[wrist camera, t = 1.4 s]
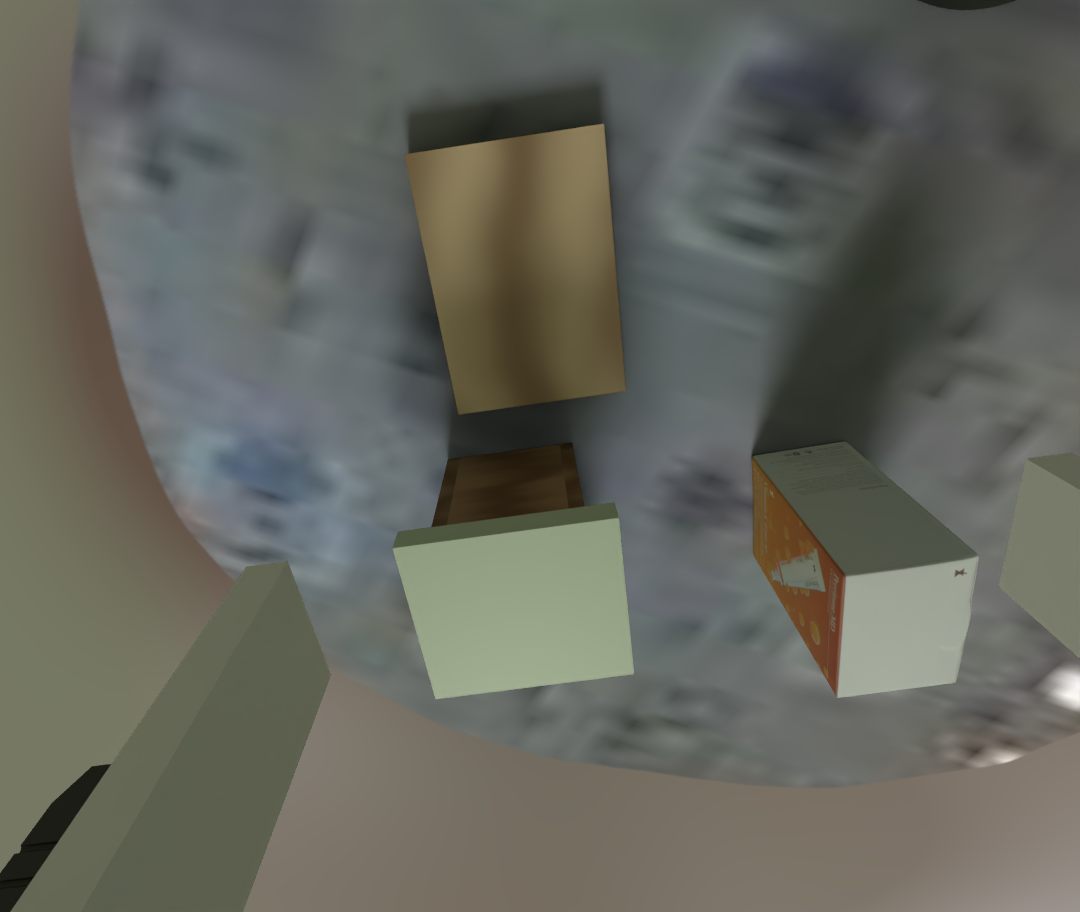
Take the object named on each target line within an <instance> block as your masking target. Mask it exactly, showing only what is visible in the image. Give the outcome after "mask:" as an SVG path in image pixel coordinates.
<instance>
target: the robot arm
mask: <svg viewBox="0 0 1080 912" xmlns="http://www.w3.org/2000/svg"><path fill="white" fill-rule="evenodd" d="M919 1H922V2H924V3H927V4H929V5H933V6H937V7H941V8H947V9H955V10H975V9H984V8H990V7H995V6H999V5H1002V4H1006V3H1009V2H1012V1H1015V0H919ZM999 588H1001V589H1002V590H1003V591H1004V592H1005V593H1006V594H1007V595H1009V596H1010V597H1011V598H1012V599H1013V600H1014V601H1015V602H1016V603H1018V604H1019V605H1020V606H1021V607H1022V608H1023V609H1024V610H1026V611H1027V612H1028V613H1029V614H1030V615H1031V616H1032V617H1034V618H1035V619H1036V620H1037V621H1038V622H1039V623H1040V624H1041V625H1043V626H1044V627H1045V628H1046V629H1047V630H1048V631H1049V632H1051V633H1052V634H1053V635H1054V636H1055V637H1056V638H1057V639H1059V640H1060V641H1061V642H1062V643H1063V644H1064V645H1065V646H1066V647H1068V648H1069V649H1070V650H1071V651H1072V652H1073V653H1074V654H1076V655H1077V656H1078V657H1079V658H1080V457H1079V456H1077V455H1075V454H1073V453H1065V454H1058V455H1051V456H1044V457H1036V458H1029V459H1026V462H1025V467H1024V472H1023V476H1022V481H1021V486H1020V490H1019V495H1018V500H1017V504H1016V509H1015V514H1014V518H1013V523H1012V528H1011V532H1010V537H1009V542H1008V546H1007V551H1006V556H1005V560H1004V565H1003V570H1002V574H1001V579H1000V584H999ZM330 676H331V673H330V671H329V668H328V665H327V663H326V660H325V658H324V655H323V652H322V650H321V647H320V645H319V642H318V639H317V637H316V634H315V632H314V629H313V626H312V624H311V621H310V619H309V616H308V613H307V611H306V608H305V606H304V603H303V600H302V598H301V595H300V593H299V590H298V587H297V585H296V582H295V580H294V577H293V574H292V572H291V569H290V566H289V564H288V561H285V562H278V563H271V564H263V565H256V566H249V567H246V568H245V569H244V571H243V572H242V574H241V575H240V577H239V578H238V580H237V581H236V583H235V584H234V586H233V587H232V589H231V590H230V591H229V593H228V594H227V596H226V598H225V599H224V600H223V602H222V603H221V605H220V606H219V608H218V609H217V610H216V612H215V613H214V615H213V616H212V618H211V619H210V621H209V622H208V624H207V625H206V626H205V628H204V630H203V631H202V633H201V634H200V635H199V637H198V638H197V640H196V641H195V643H194V644H193V645H192V647H191V648H190V650H189V651H188V653H187V654H186V656H185V657H184V659H183V660H182V662H181V663H180V665H179V666H178V668H177V669H176V670H175V672H174V673H173V675H172V676H171V678H170V679H169V681H168V682H167V684H166V685H165V687H164V688H163V690H162V691H161V692H160V694H159V695H158V697H157V698H156V700H155V701H154V703H153V704H152V705H151V707H150V709H149V710H148V711H147V713H146V714H145V716H144V717H143V719H142V720H141V722H140V723H139V724H138V726H137V727H136V729H135V730H134V732H133V733H132V735H131V736H130V738H129V739H128V741H127V742H126V743H125V745H124V746H123V748H122V749H121V751H120V752H119V754H118V755H117V757H116V758H115V760H114V761H113V762H112V764H109V765H100V766H92V767H91V768H90V769H89V770H88V771H86V772H85V773H84V774H83V775H82V776H81V777H80V778H79V779H78V780H77V781H76V782H75V783H73V784H72V785H71V786H70V787H69V788H68V789H67V790H66V791H65V792H64V793H62V794H61V795H60V796H59V797H58V798H57V799H56V800H55V801H54V802H53V803H52V804H51V805H50V806H49V808H48V809H47V810H46V812H45V813H44V815H43V816H42V817H41V819H40V820H39V821H38V823H37V824H36V825H35V827H34V828H33V829H32V831H31V832H30V834H29V835H28V836H27V838H26V839H25V841H24V842H23V843H22V844H21V851H20V853H18V854H14V855H13V857H12V858H11V860H10V861H9V862H8V863H7V865H6V866H5V868H4V869H3V870H2V872H1V873H0V912H243V910H244V907H245V904H246V902H247V899H248V896H249V894H250V891H251V888H252V886H253V883H254V880H255V878H256V875H257V872H258V869H259V867H260V864H261V862H262V859H263V856H264V854H265V851H266V848H267V845H268V843H269V840H270V837H271V835H272V832H273V829H274V827H275V824H276V821H277V819H278V816H279V813H280V811H281V808H282V805H283V802H284V800H285V797H286V794H287V792H288V789H289V786H290V784H291V781H292V778H293V776H294V773H295V770H296V768H297V765H298V762H299V759H300V757H301V754H302V751H303V749H304V746H305V743H306V740H307V738H308V735H309V733H310V730H311V727H312V725H313V722H314V719H315V716H316V714H317V711H318V708H319V706H320V703H321V700H322V698H323V695H324V692H325V690H326V687H327V684H328V681H329V679H330Z"/></svg>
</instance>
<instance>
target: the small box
mask: <svg viewBox="0 0 1080 912" xmlns="http://www.w3.org/2000/svg"><path fill="white" fill-rule="evenodd" d="M751 460H752V473H753V555H754V557H755V559H756V560H757V562H758V564H759V565H760V567H761V569H762V571H763V572H764V574H765V576H766V577H767V579H768V581H769V582H770V584H771V586H772V587H773V589H774V591H775V593H776V594H777V596H778V598H779V599H780V601H781V603H782V604H783V606H784V608H785V610H786V611H787V613H788V615H789V616H790V618H791V620H792V621H793V623H794V625H795V627H796V628H797V630H798V632H799V633H800V635H801V637H802V638H803V640H804V642H805V644H806V645H807V647H808V649H809V650H810V652H811V654H812V656H813V657H814V659H815V661H816V662H817V664H818V666H819V668H820V669H821V671H822V673H823V674H824V676H825V678H826V679H827V681H828V683H829V685H830V686H831V688H832V690H833V691H834V693H835V695H836V697H847V696H855V695H863V694H870V693H878V692H886V691H894V690H902V689H909V688H917V687H925V686H933V685H940V684H949V683H955V682H956V680H957V676H958V672H959V667H960V662H961V657H962V652H963V646H964V642H965V638H966V634H967V631H968V627H969V623H970V617H971V607H972V596H973V590H974V584H975V578H976V571H977V565H978V560H979V556H978V554H977V553H976V552H975V551H974V550H972V549H971V548H970V547H969V546H968V545H966V544H965V543H964V542H963V541H962V540H961V539H960V538H958V537H957V536H956V535H955V534H954V533H953V532H951V531H950V530H949V529H948V528H947V527H946V526H944V525H943V524H942V523H941V522H940V521H938V520H937V519H936V518H935V517H934V516H933V515H931V514H930V513H929V512H928V511H927V510H926V509H924V508H923V507H922V506H921V505H920V504H919V503H917V502H916V501H915V500H914V499H913V498H912V497H910V496H909V495H908V494H907V493H906V492H905V491H903V490H902V489H901V488H900V487H899V486H898V485H896V484H895V483H894V482H893V481H892V480H891V479H889V478H888V477H887V476H886V475H885V474H884V473H882V472H881V471H880V470H879V469H878V468H877V467H875V466H874V465H873V464H872V463H871V462H870V461H868V460H867V459H866V458H865V457H864V456H863V455H861V454H860V453H859V452H858V451H857V450H856V449H855V448H853V447H852V446H851V445H850V444H849V443H848V442H838V443H831V444H825V445H818V446H812V447H805V448H799V449H792V450H786V451H780V452H774V453H768V454H762V455H755V456H752V458H751Z"/></svg>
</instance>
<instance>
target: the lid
mask: <svg viewBox="0 0 1080 912" xmlns="http://www.w3.org/2000/svg"><path fill="white" fill-rule="evenodd" d="M393 552H394V555H395V559H396V562H397V566H398V569H399V573H400V576H401V580H402V583H403V587H404V590H405V594H406V597H407V601H408V604H409V608H410V611H411V615H412V618H413V621H414V625H415V628H416V632H417V635H418V639H419V642H420V646H421V649H422V653H423V656H424V660H425V663H426V667H427V670H428V674H429V677H430V681H431V684H432V688H433V691H434V695H435V698H436V699H441V698H448V697H456V696H464V695H472V694H480V693H488V692H496V691H504V690H512V689H520V688H527V687H535V686H543V685H551V684H559V683H567V682H575V681H583V680H591V679H599V678H606V677H614V676H622V675H630V674H634V669H633V658H632V648H631V638H630V628H629V617H628V607H627V597H626V586H625V576H624V566H623V556H622V545H621V535H620V525H619V517H618V513H617V510H616V506H615V503H607V504H599V505H592V506H585V507H577V508H570V509H562V510H555V511H548V512H540V513H533V514H525V515H518V516H511V517H503V518H496V519H489V520H481V521H474V522H466V523H459V524H452V525H444V526H437V527H429V528H422V529H415V530H407V531H400V532H398V533H397V536H396V540H395V543H394V546H393Z"/></svg>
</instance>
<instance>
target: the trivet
mask: <svg viewBox="0 0 1080 912" xmlns="http://www.w3.org/2000/svg"><path fill="white" fill-rule="evenodd" d="M404 157H405V161H406V166H407V171H408V176H409V181H410V185H411V190H412V195H413V200H414V204H415V209H416V214H417V219H418V224H419V228H420V233H421V238H422V243H423V248H424V252H425V257H426V262H427V267H428V272H429V276H430V281H431V286H432V291H433V295H434V300H435V305H436V310H437V315H438V319H439V324H440V329H441V334H442V339H443V343H444V348H445V353H446V358H447V363H448V367H449V372H450V377H451V382H452V386H453V391H454V396H455V401H456V406H457V410H458V415H460V414H467V413H474V412H481V411H488V410H495V409H502V408H509V407H517V406H524V405H531V404H538V403H545V402H552V401H559V400H566V399H573V398H580V397H587V396H595V395H602V394H609V393H616V392H623V391H626V384H625V372H624V360H623V348H622V335H621V323H620V311H619V299H618V287H617V275H616V263H615V251H614V239H613V227H612V215H611V203H610V191H609V179H608V167H607V155H606V142H605V130H604V124H598V125H592V126H585V127H579V128H572V129H566V130H559V131H553V132H546V133H540V134H533V135H527V136H521V137H514V138H508V139H501V140H495V141H488V142H482V143H475V144H469V145H462V146H456V147H449V148H443V149H436V150H430V151H423V152H417V153H410V154H404Z"/></svg>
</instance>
